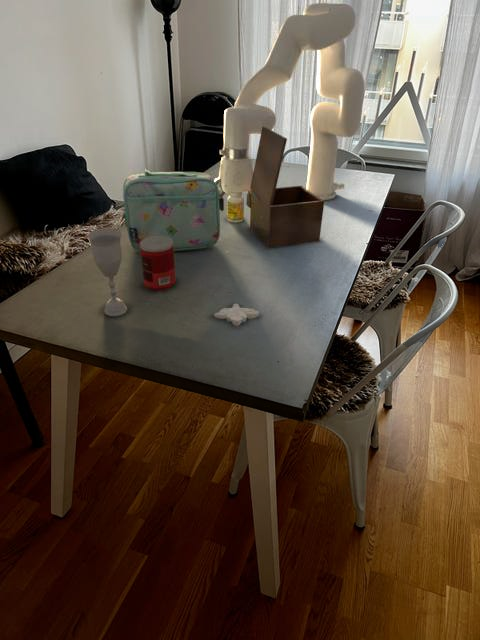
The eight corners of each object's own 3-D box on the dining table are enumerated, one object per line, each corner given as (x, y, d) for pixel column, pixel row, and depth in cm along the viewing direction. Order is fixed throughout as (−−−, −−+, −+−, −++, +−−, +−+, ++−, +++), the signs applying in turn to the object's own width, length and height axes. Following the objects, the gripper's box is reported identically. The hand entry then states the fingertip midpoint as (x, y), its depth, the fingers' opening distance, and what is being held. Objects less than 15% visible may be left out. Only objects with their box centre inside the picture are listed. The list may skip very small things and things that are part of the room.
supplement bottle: (246, 218, 152) (247, 190, 147) (237, 224, 149) (238, 194, 143) (232, 215, 155) (233, 186, 149) (223, 220, 151) (223, 191, 146)
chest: (297, 223, 150) (301, 185, 144) (319, 241, 139) (324, 201, 132) (249, 229, 145) (251, 190, 139) (268, 248, 134) (270, 207, 127)
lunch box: (125, 257, 127) (115, 179, 115) (125, 242, 135) (115, 167, 123) (221, 250, 132) (221, 174, 120) (215, 236, 140) (215, 163, 128)
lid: (265, 126, 130) (262, 126, 130) (287, 138, 118) (284, 138, 118) (252, 188, 138) (250, 188, 138) (272, 205, 127) (269, 205, 127)
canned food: (180, 278, 118) (178, 238, 112) (166, 293, 111) (163, 251, 105) (153, 273, 120) (150, 233, 114) (138, 287, 114) (133, 246, 107)
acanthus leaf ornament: (259, 316, 104) (259, 309, 103) (239, 329, 100) (240, 322, 99) (233, 304, 108) (233, 297, 107) (213, 316, 104) (213, 309, 103)
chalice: (102, 301, 108) (90, 228, 98) (132, 301, 108) (123, 228, 98) (97, 319, 102) (84, 243, 92) (129, 318, 102) (119, 242, 92)
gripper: (212, 157, 134) (212, 215, 144) (267, 154, 140) (264, 209, 149) (205, 151, 140) (205, 206, 150) (258, 148, 145) (255, 201, 155)
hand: (235, 208), depth 149 cm, fingers open, 9 cm apart
